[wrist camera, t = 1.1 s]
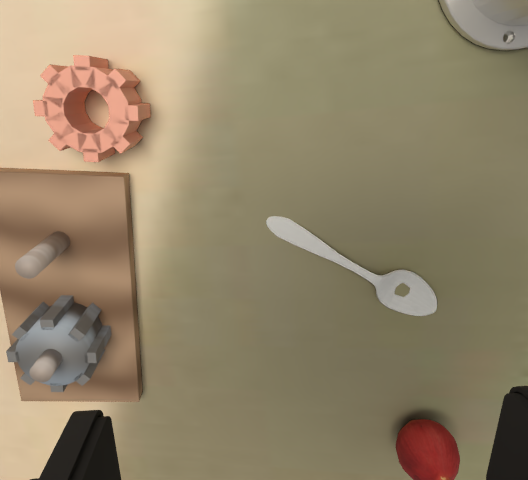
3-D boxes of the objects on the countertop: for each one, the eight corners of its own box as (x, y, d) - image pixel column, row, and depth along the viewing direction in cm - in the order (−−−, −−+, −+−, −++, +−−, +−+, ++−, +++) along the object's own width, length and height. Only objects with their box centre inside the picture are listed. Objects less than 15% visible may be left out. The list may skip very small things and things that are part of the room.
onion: (434, 442, 45) (471, 512, 38) (383, 444, 45) (411, 515, 38) (442, 400, 43) (484, 466, 36) (389, 401, 43) (420, 467, 36)
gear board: (-12, 167, 33) (-81, 189, 26) (128, 173, 33) (98, 196, 26) (29, 390, 40) (-16, 453, 33) (142, 390, 41) (121, 453, 34)
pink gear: (53, 56, 30) (26, 52, 26) (148, 62, 31) (135, 58, 27) (64, 151, 33) (41, 159, 29) (152, 155, 33) (140, 163, 29)
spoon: (416, 319, 40) (423, 329, 39) (230, 224, 36) (229, 230, 34) (442, 286, 39) (450, 294, 38) (252, 183, 35) (253, 188, 33)
